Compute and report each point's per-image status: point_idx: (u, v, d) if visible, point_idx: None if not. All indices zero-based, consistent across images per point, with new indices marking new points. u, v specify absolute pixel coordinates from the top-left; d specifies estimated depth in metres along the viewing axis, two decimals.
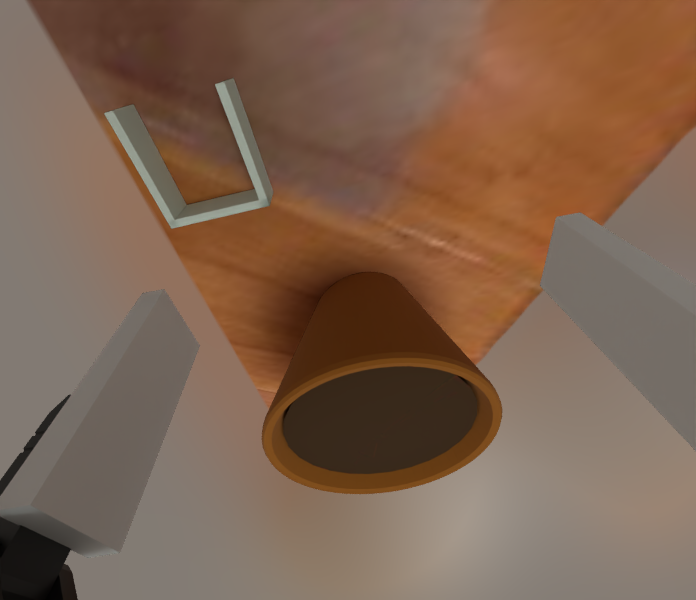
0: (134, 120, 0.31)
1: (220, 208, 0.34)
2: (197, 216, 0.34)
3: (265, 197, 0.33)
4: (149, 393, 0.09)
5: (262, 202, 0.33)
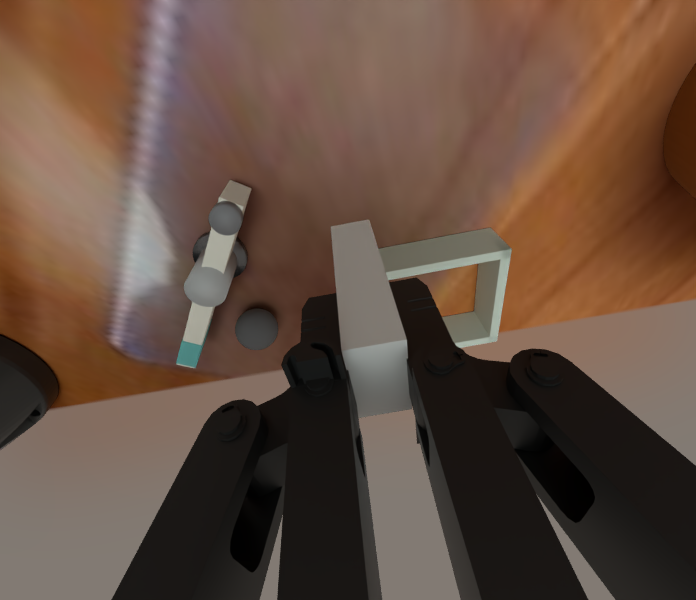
0: None
1: (494, 297, 0.30)
2: (494, 318, 0.31)
3: (500, 252, 0.27)
4: None
5: (504, 256, 0.27)
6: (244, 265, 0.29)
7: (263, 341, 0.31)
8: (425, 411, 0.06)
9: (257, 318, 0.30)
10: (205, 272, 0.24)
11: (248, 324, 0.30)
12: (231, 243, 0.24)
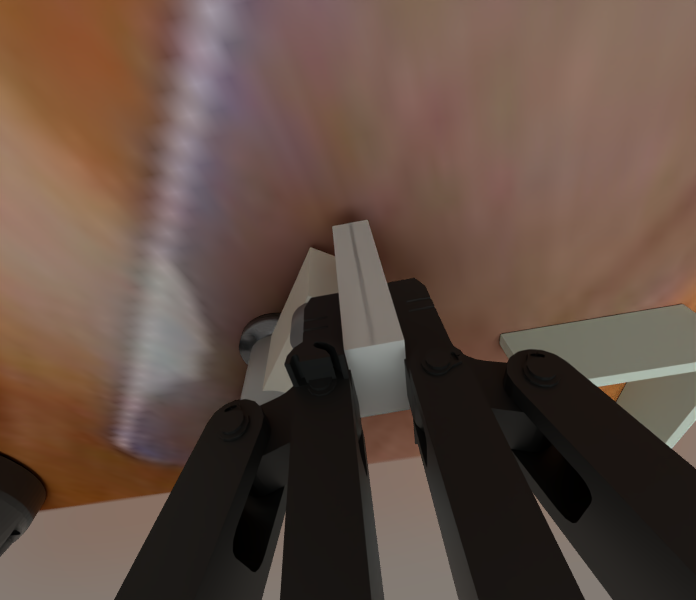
0: None
1: (689, 411, 0.20)
2: (675, 434, 0.21)
3: None
4: None
5: None
6: None
7: None
8: (422, 412, 0.06)
9: None
10: None
11: None
12: None
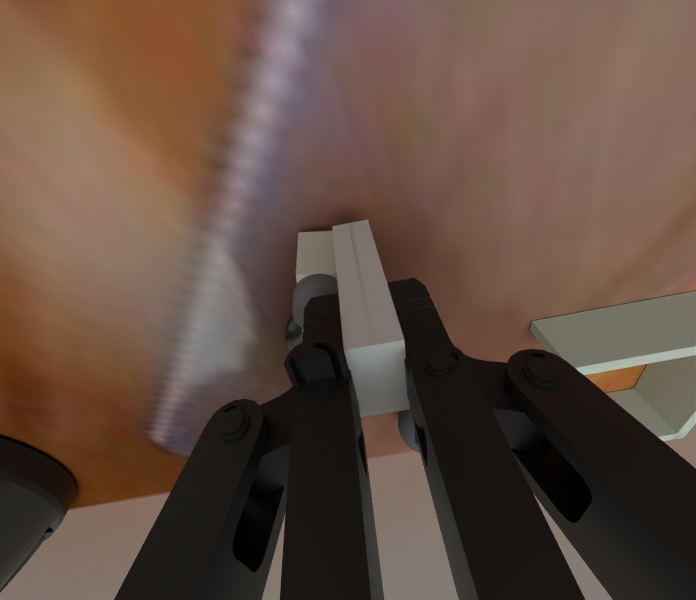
0: None
1: None
2: (695, 413, 0.22)
3: None
4: None
5: None
6: None
7: None
8: (422, 412, 0.06)
9: None
10: None
11: None
12: None
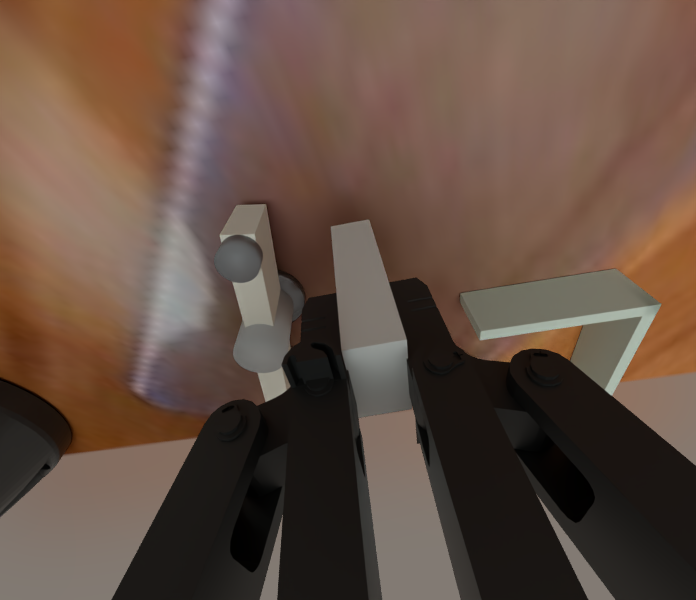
0: None
1: (619, 359, 0.23)
2: (611, 382, 0.25)
3: (645, 307, 0.20)
4: None
5: (649, 312, 0.20)
6: (301, 310, 0.23)
7: None
8: (425, 411, 0.06)
9: None
10: (250, 334, 0.18)
11: None
12: (264, 286, 0.17)
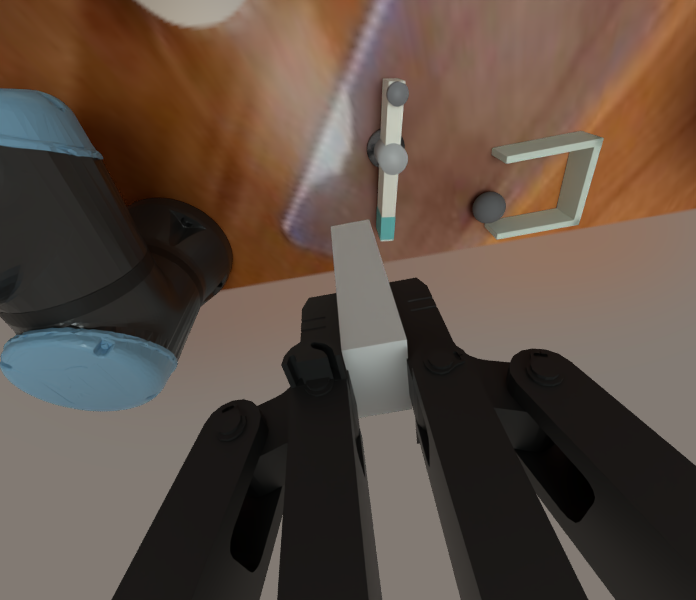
0: (497, 223, 0.46)
1: (584, 182, 0.40)
2: (580, 202, 0.42)
3: (595, 140, 0.37)
4: None
5: (597, 144, 0.37)
6: None
7: (496, 204, 0.41)
8: (425, 411, 0.06)
9: (493, 192, 0.42)
10: (391, 145, 0.34)
11: (487, 193, 0.42)
12: (401, 116, 0.34)
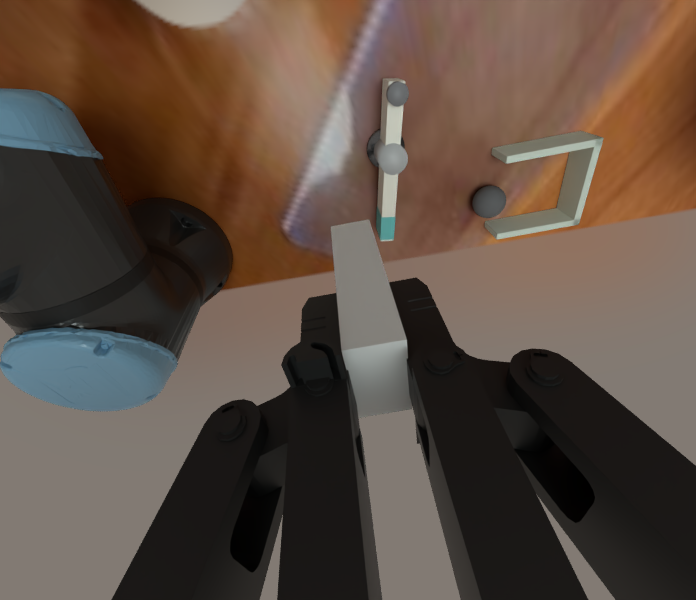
0: (497, 223, 0.46)
1: (584, 182, 0.40)
2: (580, 202, 0.42)
3: (595, 140, 0.37)
4: None
5: (597, 144, 0.37)
6: None
7: (495, 192, 0.41)
8: (425, 411, 0.06)
9: None
10: (391, 145, 0.34)
11: None
12: (401, 116, 0.34)
